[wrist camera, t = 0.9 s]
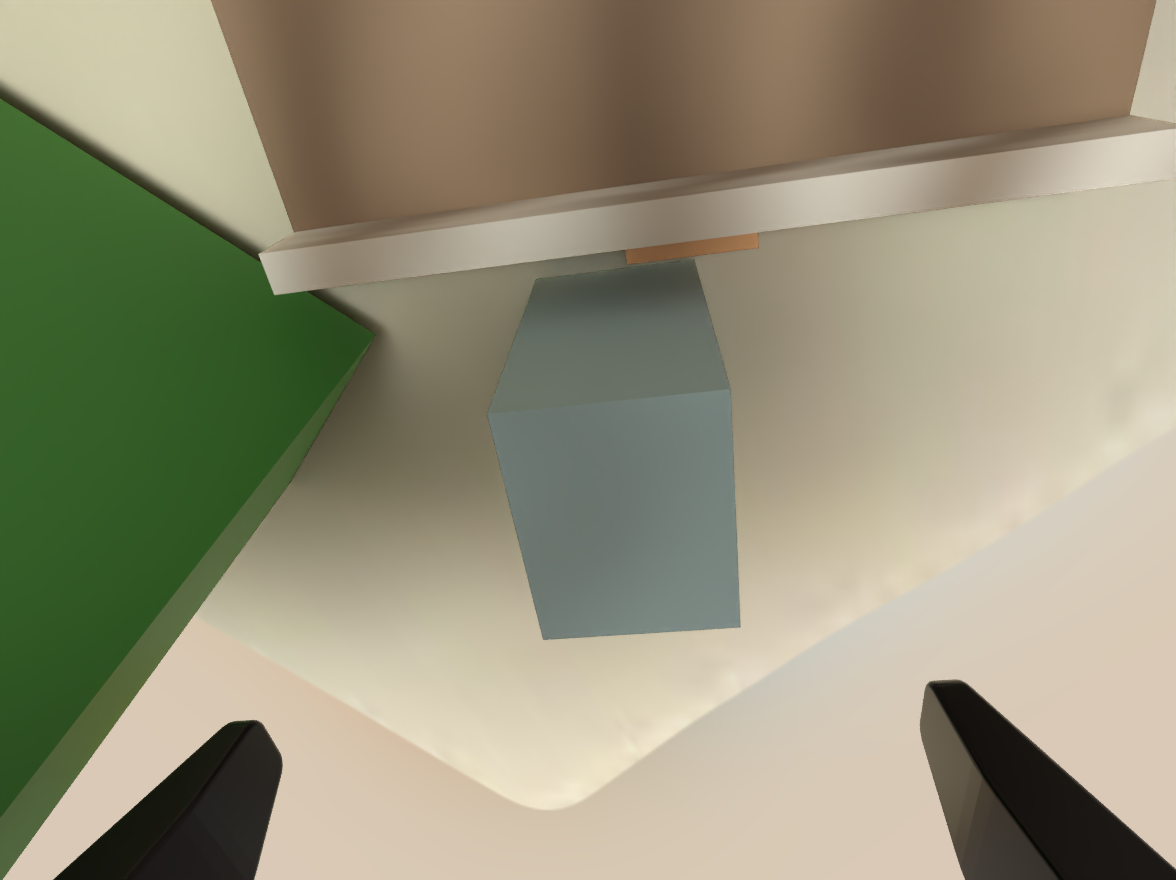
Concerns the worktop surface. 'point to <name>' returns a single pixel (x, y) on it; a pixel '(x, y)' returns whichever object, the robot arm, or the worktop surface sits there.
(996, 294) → the worktop surface
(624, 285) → the product carton
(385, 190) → the shelf board
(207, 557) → the hardback book
